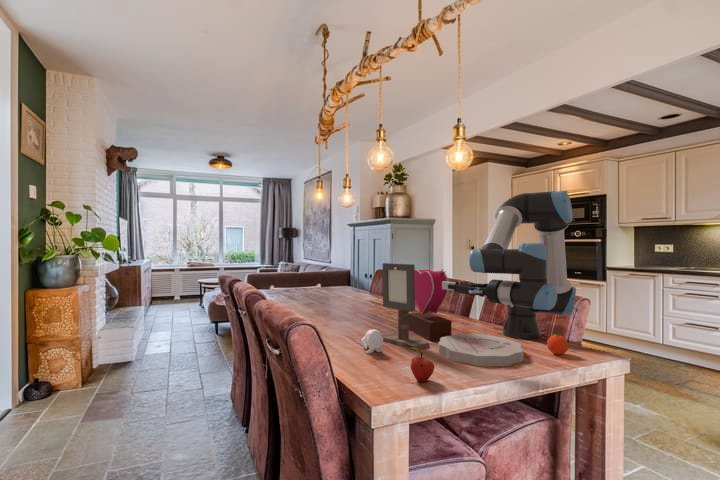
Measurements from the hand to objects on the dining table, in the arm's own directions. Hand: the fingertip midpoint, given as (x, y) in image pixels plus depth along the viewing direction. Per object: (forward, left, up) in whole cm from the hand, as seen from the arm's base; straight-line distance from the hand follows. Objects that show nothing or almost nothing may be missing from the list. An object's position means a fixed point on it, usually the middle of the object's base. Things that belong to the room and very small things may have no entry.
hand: (443, 285), depth 138 cm
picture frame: (+20, +3, -11) cm, 23 cm away
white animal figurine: (+20, +18, -25) cm, 37 cm away
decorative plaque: (-8, -11, -26) cm, 29 cm away
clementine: (-27, -31, -25) cm, 48 cm away
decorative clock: (+21, -18, -25) cm, 38 cm away
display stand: (+20, +1, -25) cm, 32 cm away
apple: (-13, +27, -25) cm, 39 cm away
